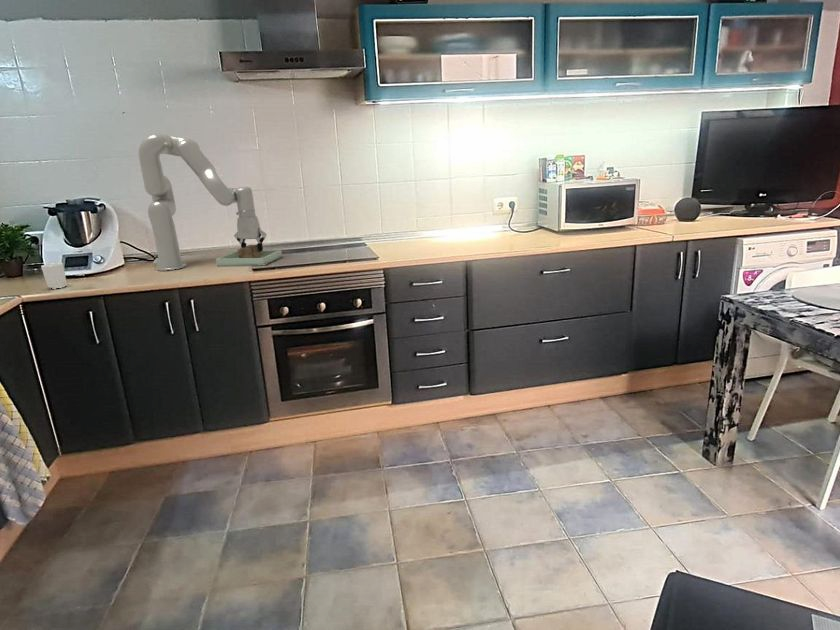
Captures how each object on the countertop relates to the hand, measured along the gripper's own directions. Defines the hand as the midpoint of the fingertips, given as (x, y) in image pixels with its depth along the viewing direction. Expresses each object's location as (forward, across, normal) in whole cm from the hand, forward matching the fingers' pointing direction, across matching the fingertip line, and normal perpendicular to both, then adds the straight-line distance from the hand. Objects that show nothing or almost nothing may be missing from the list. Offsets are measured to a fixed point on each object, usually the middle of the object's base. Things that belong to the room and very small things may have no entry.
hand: (252, 251), depth 272 cm
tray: (+4, 0, -4) cm, 6 cm away
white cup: (+5, -64, -50) cm, 82 cm away
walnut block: (+3, 0, -6) cm, 7 cm away
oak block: (+3, 0, 0) cm, 3 cm away
